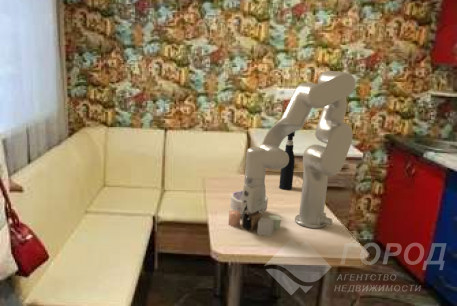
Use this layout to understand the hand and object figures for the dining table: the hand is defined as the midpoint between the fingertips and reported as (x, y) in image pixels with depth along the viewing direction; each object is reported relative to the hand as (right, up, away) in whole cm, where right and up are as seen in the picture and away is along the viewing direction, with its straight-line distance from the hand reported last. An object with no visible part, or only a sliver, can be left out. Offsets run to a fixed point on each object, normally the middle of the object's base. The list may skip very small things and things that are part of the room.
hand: (251, 225), depth 160 cm
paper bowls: (0, +2, +14) cm, 14 cm away
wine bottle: (+20, +10, +52) cm, 56 cm away
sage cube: (+9, -1, +2) cm, 9 cm away
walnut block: (0, -1, 0) cm, 1 cm away
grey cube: (+5, -2, -4) cm, 7 cm away
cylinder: (-6, 0, +2) cm, 7 cm away
